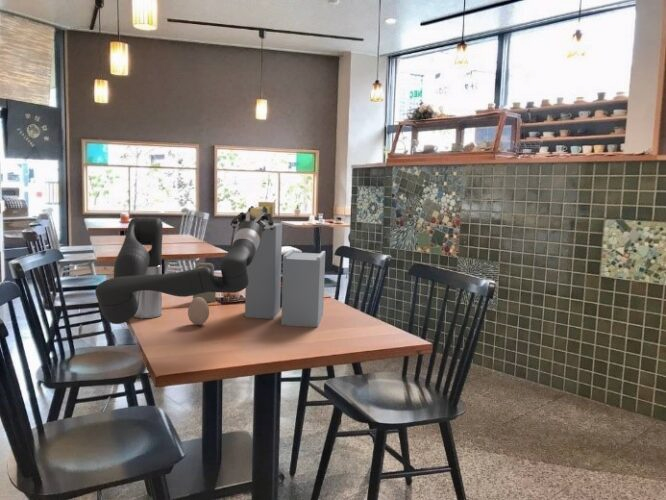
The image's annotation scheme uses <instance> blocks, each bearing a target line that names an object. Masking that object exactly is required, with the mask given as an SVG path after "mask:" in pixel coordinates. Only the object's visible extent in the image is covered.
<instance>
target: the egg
mask: <svg viewBox="0 0 666 500" xmlns="http://www.w3.org/2000/svg"><path fill="white" fill-rule="evenodd" d="M187 316H188V319H189V321H190V322H191V323H192V324H193V325H195V326H201V325H203V324H205V323H206V322H207V320H208V319H209V316H210V308H209V305H208V302H206V301H205V300H204V299H203V298H201V297H196V298H195V299H193V298H192V300H191V301H190V303H189V306H188V309H187Z"/></svg>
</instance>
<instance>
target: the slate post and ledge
mask: <svg viewBox="0 0 666 500" xmlns="http://www.w3.org/2000/svg"><path fill="white" fill-rule="evenodd" d="M264 224H265V225H266V224H267V222H264ZM273 224H274V229H273V230H270V228H267V229H265V231H263V233H262V237H261V240H260V244H259V246H258V248H257V250H256V252H255V255H254V257H253V260H252V262H251V263H250V265H248V266H247V273H248V279H249V283H248V285H247V287H246V288H245V290H244V291H245V299H244V301H245V304H244V306H245V307H244V318H251V319H269V320H272V319H273V320H274V319H275V318H276V316H278V314H279V313H280V312H281V323H280V324H281V326H291V327H292V326H293V327H307V328H308V327H309V328H311V327H312V328H318V327H319V325H320V323H321V320H322V318H323V316H324V302H325V299H324V297H325V274H326V273H325V271H326V270H325V268H326V250H322V251H321V252H320V253H319V252H318V253H314V252H313V253H312V252H297V251H296V250H295V249H291V250H289V251H288V252H287V253H285V254H284V255H283V256H282V247H283V246H282V245H283V244H282V242H283V241H282V240H283V223H281V222H279V223H277V222H276V223H275V222H273ZM295 251H296V252H295ZM282 275H283V283H282V306H280V288H281V276H282Z"/></svg>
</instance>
